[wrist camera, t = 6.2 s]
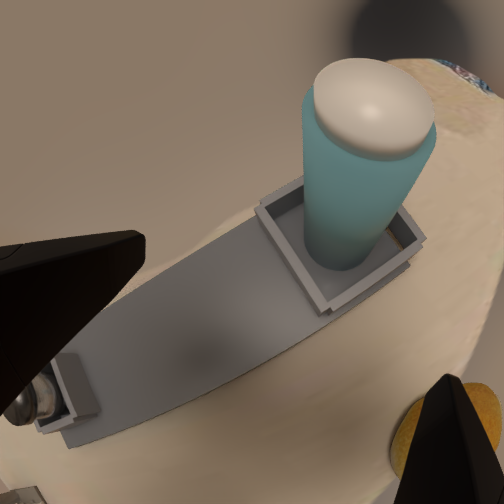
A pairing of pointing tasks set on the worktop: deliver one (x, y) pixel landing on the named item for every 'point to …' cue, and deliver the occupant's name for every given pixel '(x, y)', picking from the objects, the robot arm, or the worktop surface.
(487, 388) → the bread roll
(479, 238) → the worktop surface
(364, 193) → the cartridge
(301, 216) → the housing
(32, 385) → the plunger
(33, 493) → the skyscraper
